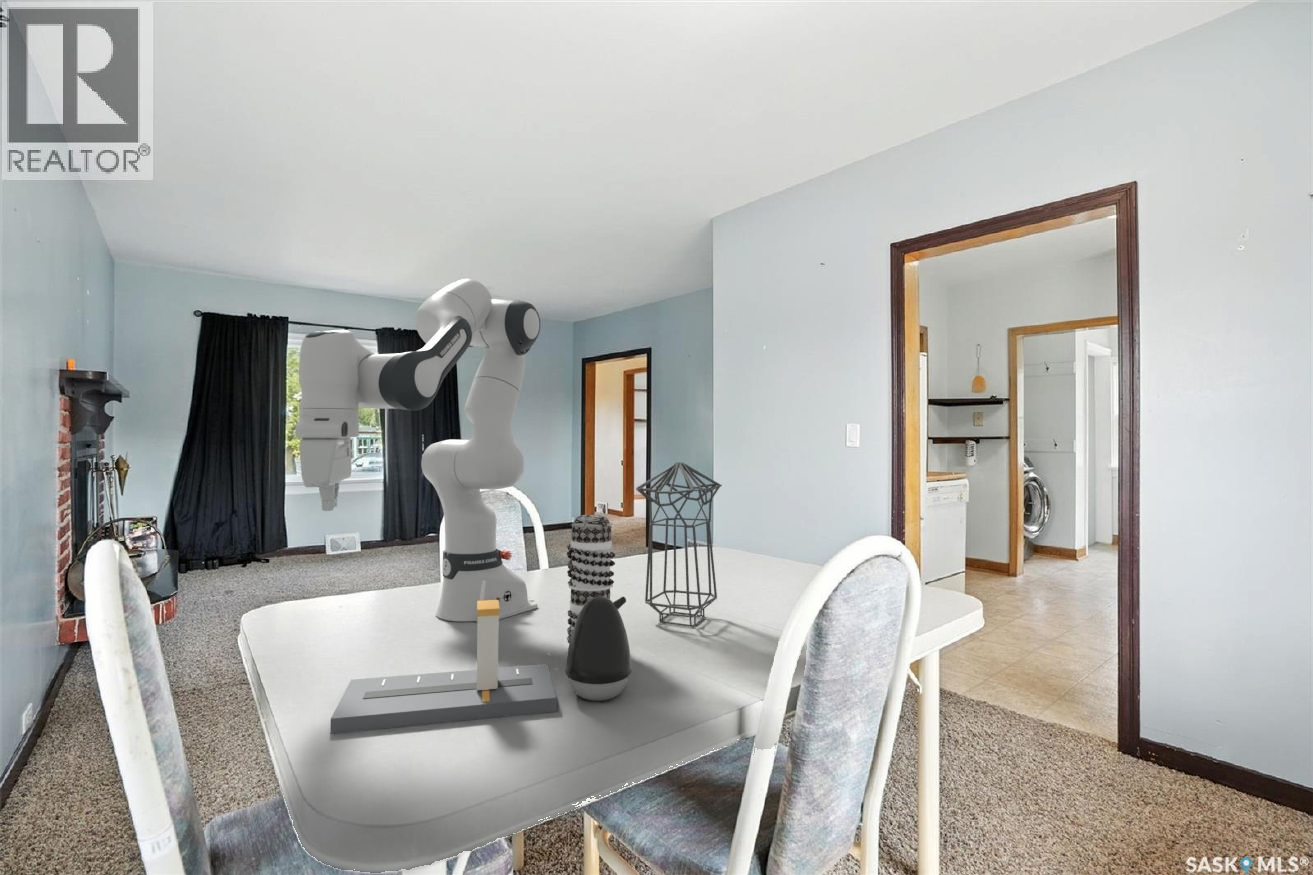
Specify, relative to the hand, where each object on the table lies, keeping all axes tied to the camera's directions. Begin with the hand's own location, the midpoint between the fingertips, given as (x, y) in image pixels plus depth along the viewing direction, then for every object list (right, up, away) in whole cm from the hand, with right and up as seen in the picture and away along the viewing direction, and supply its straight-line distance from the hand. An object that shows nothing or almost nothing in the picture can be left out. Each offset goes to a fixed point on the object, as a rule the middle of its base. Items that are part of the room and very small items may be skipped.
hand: (329, 509), depth 106 cm
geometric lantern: (+59, -29, +35) cm, 74 cm away
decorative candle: (+42, -28, +15) cm, 53 cm away
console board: (+24, -28, -10) cm, 38 cm away
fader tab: (+29, -25, -9) cm, 39 cm away
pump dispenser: (+45, -28, -7) cm, 54 cm away
